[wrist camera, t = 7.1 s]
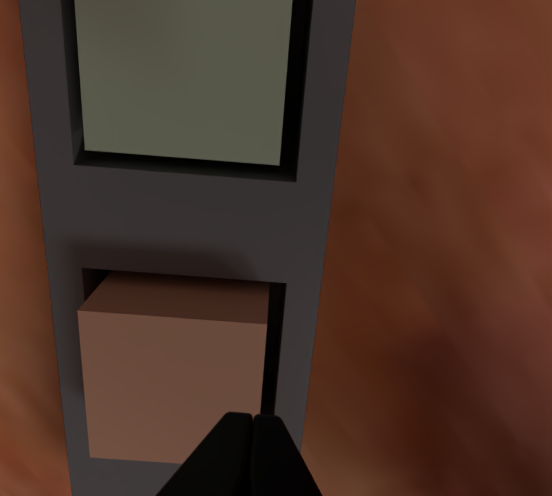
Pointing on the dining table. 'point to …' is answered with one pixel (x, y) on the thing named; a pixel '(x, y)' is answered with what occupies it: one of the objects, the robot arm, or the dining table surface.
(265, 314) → the terracotta button
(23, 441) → the dining table surface
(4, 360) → the dining table surface
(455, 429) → the dining table surface
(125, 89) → the sage green button
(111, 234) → the button board
